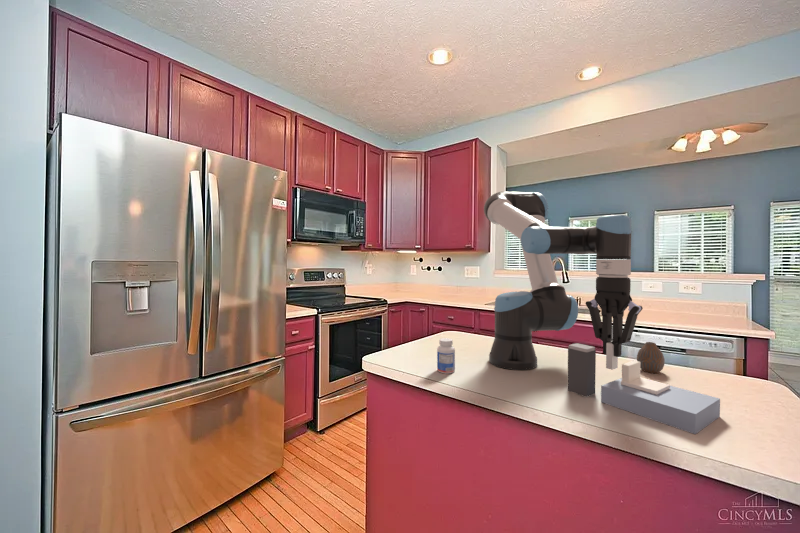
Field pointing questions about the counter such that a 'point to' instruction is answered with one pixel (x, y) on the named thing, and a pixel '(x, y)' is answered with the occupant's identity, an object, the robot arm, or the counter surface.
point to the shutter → (640, 379)
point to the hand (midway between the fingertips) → (611, 367)
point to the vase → (651, 358)
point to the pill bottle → (446, 356)
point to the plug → (581, 369)
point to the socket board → (665, 405)
